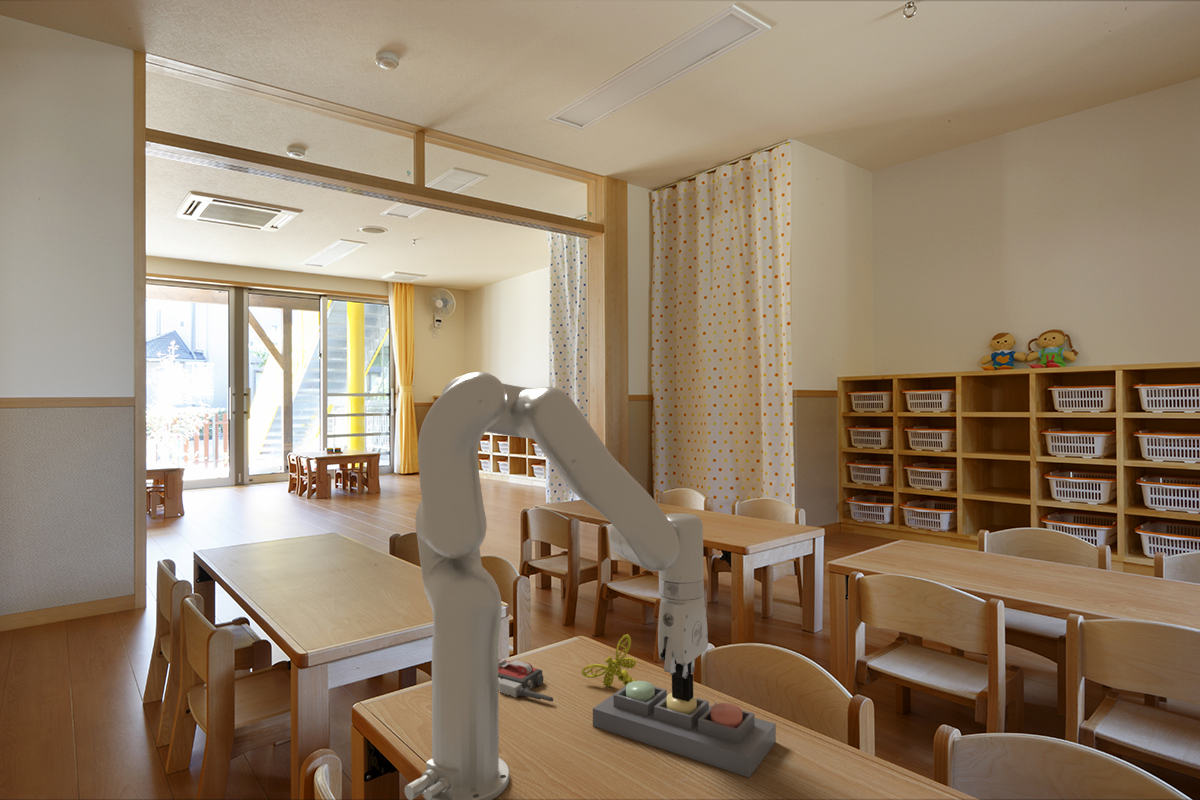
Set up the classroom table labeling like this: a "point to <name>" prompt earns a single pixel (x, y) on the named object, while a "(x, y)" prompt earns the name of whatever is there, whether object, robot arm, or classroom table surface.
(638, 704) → the button panel
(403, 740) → the classroom table surface
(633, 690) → the sage button
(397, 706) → the classroom table surface
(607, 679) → the decorative insect
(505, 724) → the classroom table surface
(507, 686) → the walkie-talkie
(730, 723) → the red button
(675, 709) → the mustard button
